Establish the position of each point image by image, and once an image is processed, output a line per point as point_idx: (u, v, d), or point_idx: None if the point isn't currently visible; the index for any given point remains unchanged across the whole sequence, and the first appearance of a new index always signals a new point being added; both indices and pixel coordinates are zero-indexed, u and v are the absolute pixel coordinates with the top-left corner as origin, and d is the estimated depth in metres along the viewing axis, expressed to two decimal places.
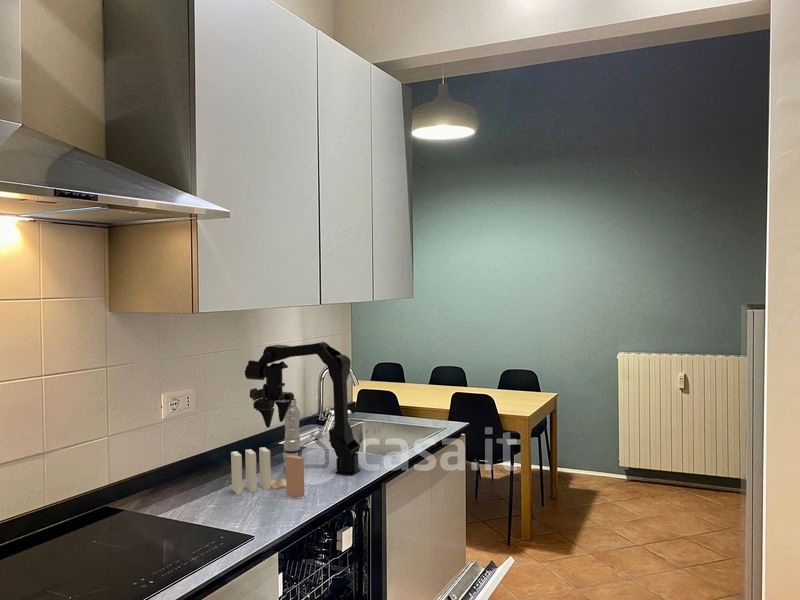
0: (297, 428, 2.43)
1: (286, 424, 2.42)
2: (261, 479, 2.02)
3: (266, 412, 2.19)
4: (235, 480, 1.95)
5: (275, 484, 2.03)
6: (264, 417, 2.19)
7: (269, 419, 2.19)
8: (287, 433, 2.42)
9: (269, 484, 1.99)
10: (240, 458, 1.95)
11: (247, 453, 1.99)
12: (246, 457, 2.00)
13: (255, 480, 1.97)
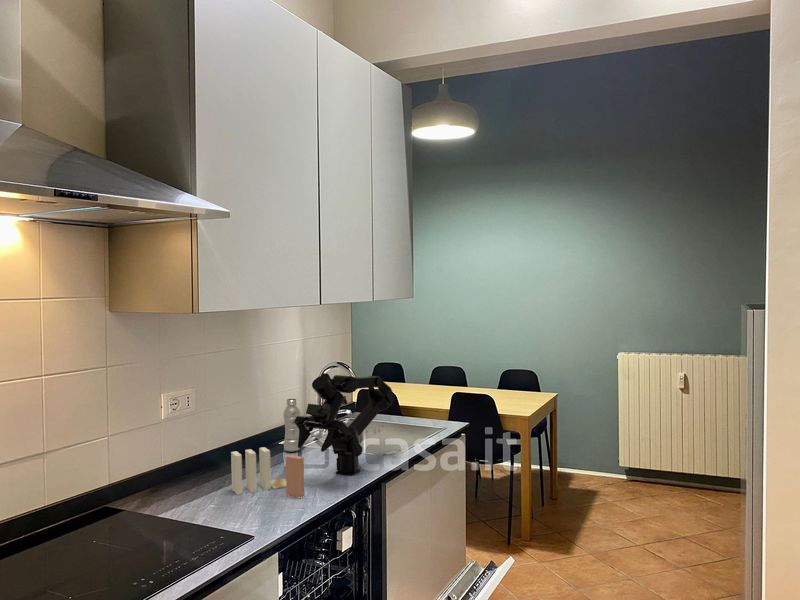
0: (297, 428, 2.43)
1: (286, 424, 2.42)
2: (261, 479, 2.02)
3: (332, 436, 1.99)
4: (235, 480, 1.95)
5: (275, 484, 2.03)
6: (329, 440, 1.97)
7: (330, 445, 1.98)
8: (287, 433, 2.42)
9: (269, 484, 1.99)
10: (240, 458, 1.95)
11: (247, 453, 1.99)
12: (246, 457, 2.00)
13: (255, 480, 1.97)
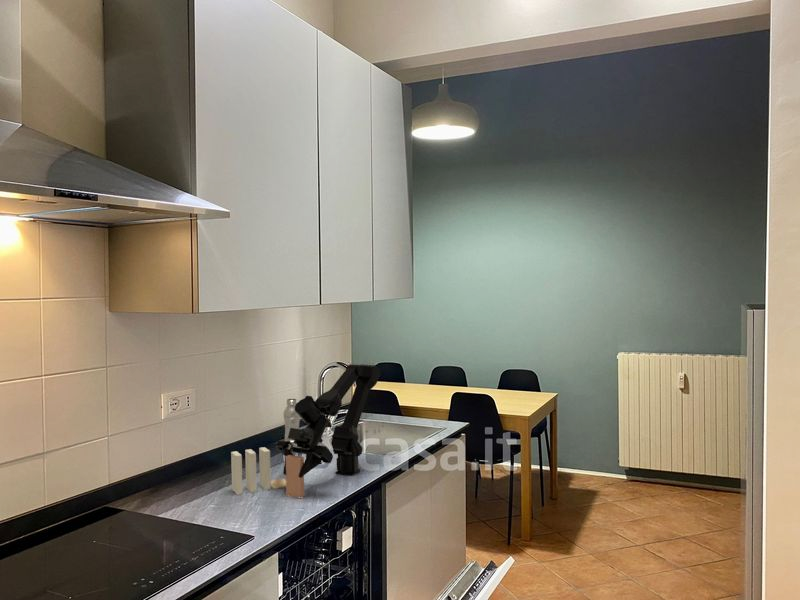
0: (297, 428, 2.43)
1: (286, 424, 2.42)
2: (261, 479, 2.02)
3: (310, 461, 1.92)
4: (235, 480, 1.95)
5: (275, 484, 2.03)
6: (307, 465, 1.91)
7: (308, 470, 1.92)
8: (287, 433, 2.42)
9: (269, 484, 1.99)
10: (240, 458, 1.95)
11: (247, 453, 1.99)
12: (246, 457, 2.00)
13: (255, 480, 1.97)
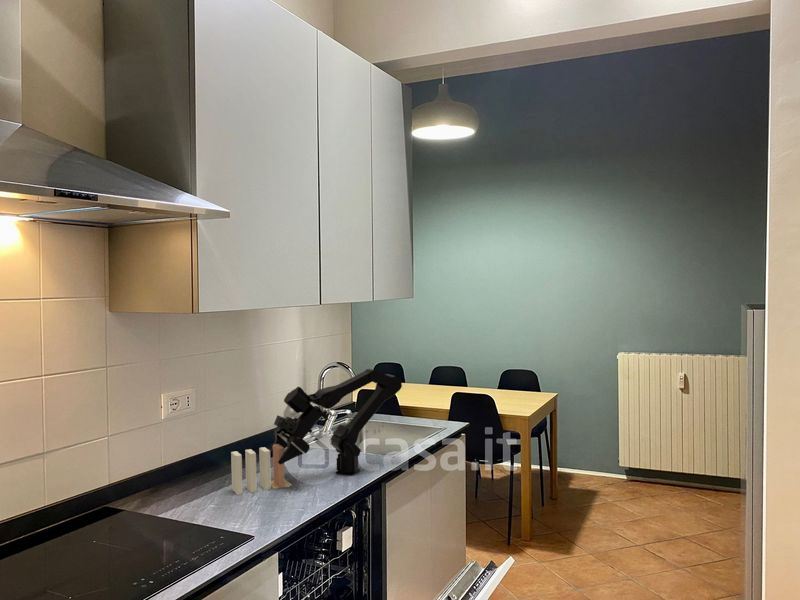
0: None
1: None
2: (261, 479, 2.02)
3: (292, 450, 2.00)
4: (235, 480, 1.95)
5: (275, 484, 2.03)
6: (286, 453, 1.99)
7: (289, 458, 2.00)
8: None
9: (269, 484, 1.99)
10: (240, 458, 1.95)
11: (247, 453, 1.99)
12: (246, 457, 2.00)
13: (255, 480, 1.97)
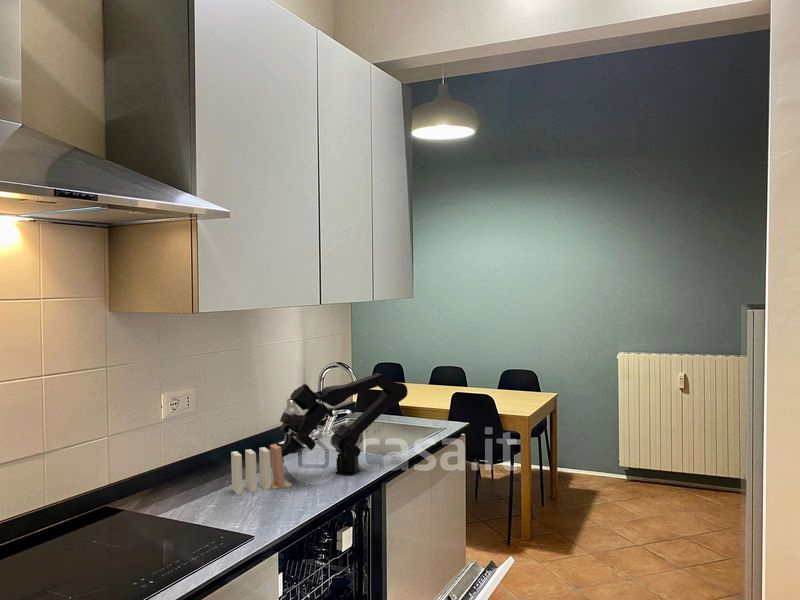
0: None
1: None
2: (261, 479, 2.02)
3: (293, 444, 2.05)
4: (235, 480, 1.95)
5: (275, 484, 2.03)
6: (287, 447, 2.04)
7: (290, 452, 2.04)
8: None
9: (269, 484, 1.99)
10: (240, 458, 1.95)
11: (247, 453, 1.99)
12: (246, 457, 2.00)
13: (255, 480, 1.97)
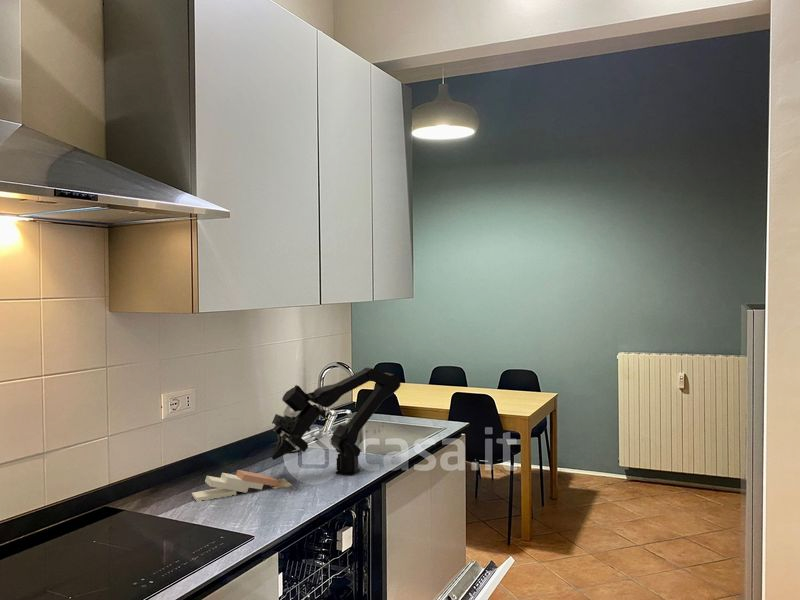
0: None
1: None
2: None
3: (285, 446, 2.03)
4: None
5: None
6: (280, 449, 2.02)
7: (283, 454, 2.03)
8: None
9: (259, 484, 1.97)
10: (199, 498, 1.89)
11: None
12: None
13: (238, 486, 1.94)
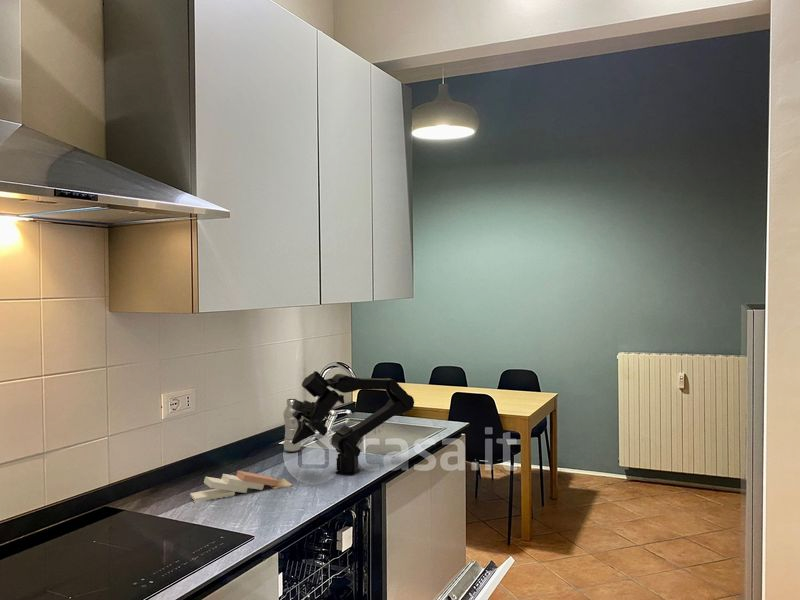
0: None
1: (286, 424, 2.42)
2: None
3: (305, 431, 2.07)
4: None
5: None
6: (300, 434, 2.06)
7: (303, 438, 2.07)
8: (287, 433, 2.42)
9: (260, 485, 1.98)
10: (198, 499, 1.88)
11: None
12: None
13: (237, 486, 1.94)
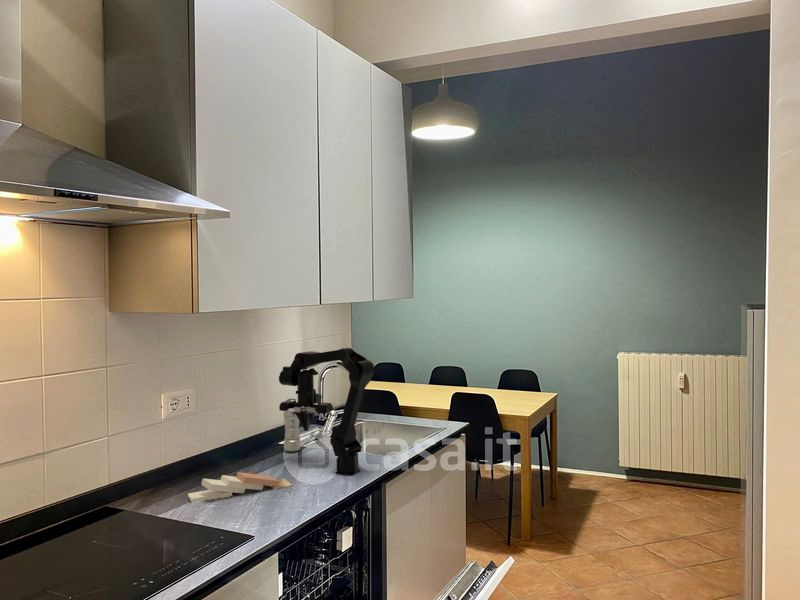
0: (297, 428, 2.43)
1: (286, 424, 2.42)
2: None
3: None
4: None
5: None
6: None
7: None
8: (287, 433, 2.42)
9: (259, 485, 1.98)
10: (194, 499, 1.88)
11: None
12: None
13: (235, 487, 1.93)
